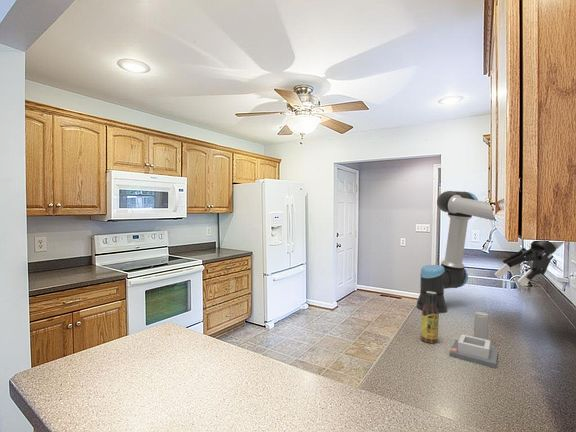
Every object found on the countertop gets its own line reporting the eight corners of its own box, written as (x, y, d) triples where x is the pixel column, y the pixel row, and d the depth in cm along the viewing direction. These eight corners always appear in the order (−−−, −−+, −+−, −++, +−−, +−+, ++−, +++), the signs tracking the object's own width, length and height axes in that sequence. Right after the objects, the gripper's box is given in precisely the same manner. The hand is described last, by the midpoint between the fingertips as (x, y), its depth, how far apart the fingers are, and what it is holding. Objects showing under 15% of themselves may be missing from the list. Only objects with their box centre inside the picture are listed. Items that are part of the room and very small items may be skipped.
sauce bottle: (428, 344, 122) (429, 294, 122) (417, 338, 128) (418, 290, 128) (441, 343, 124) (442, 293, 123) (430, 337, 130) (431, 290, 129)
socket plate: (455, 343, 123) (456, 331, 123) (497, 353, 115) (498, 340, 115) (449, 356, 112) (449, 342, 112) (495, 368, 104) (496, 353, 104)
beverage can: (474, 339, 128) (475, 310, 128) (488, 342, 125) (489, 313, 124) (472, 343, 124) (473, 313, 124) (487, 346, 121) (487, 316, 121)
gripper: (582, 254, 111) (538, 295, 111) (529, 246, 135) (494, 280, 136) (567, 239, 111) (523, 280, 111) (517, 234, 136) (482, 267, 136)
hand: (507, 280), depth 124 cm, fingers open, 13 cm apart
